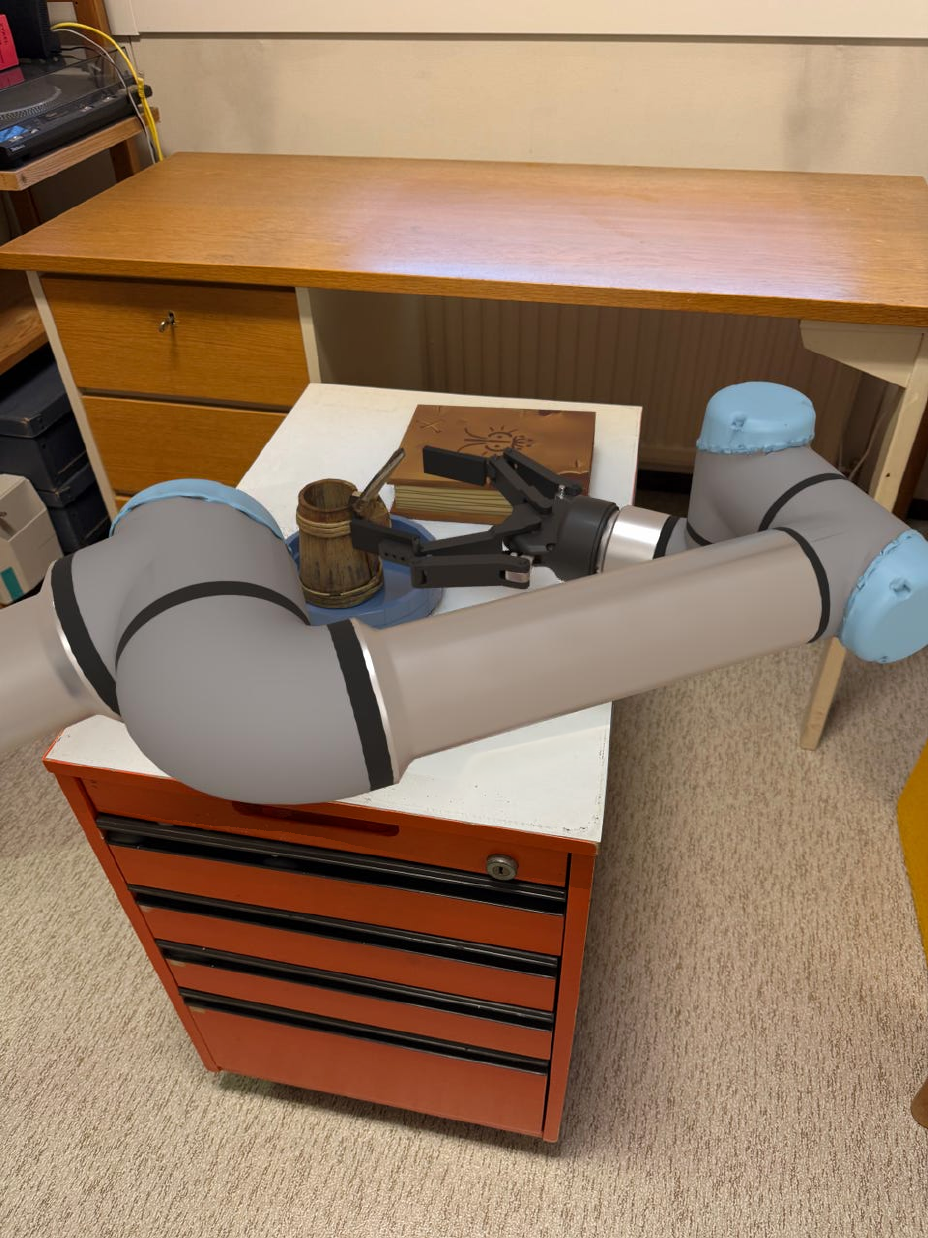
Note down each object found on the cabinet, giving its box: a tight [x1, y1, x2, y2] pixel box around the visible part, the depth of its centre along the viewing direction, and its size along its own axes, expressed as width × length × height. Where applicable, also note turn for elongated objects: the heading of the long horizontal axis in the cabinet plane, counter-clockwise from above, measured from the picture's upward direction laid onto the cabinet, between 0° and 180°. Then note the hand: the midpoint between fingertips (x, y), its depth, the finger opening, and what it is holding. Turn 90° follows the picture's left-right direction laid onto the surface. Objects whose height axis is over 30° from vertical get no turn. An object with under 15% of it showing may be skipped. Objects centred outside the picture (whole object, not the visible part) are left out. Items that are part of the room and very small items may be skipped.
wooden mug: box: [295, 447, 406, 608], centre depth 88 cm, size 9×14×18 cm, turn 65°
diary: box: [385, 403, 597, 525], centre depth 108 cm, size 23×19×6 cm
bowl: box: [285, 513, 443, 630], centre depth 93 cm, size 18×18×4 cm
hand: (390, 493), depth 82 cm, fingers open, 13 cm apart
